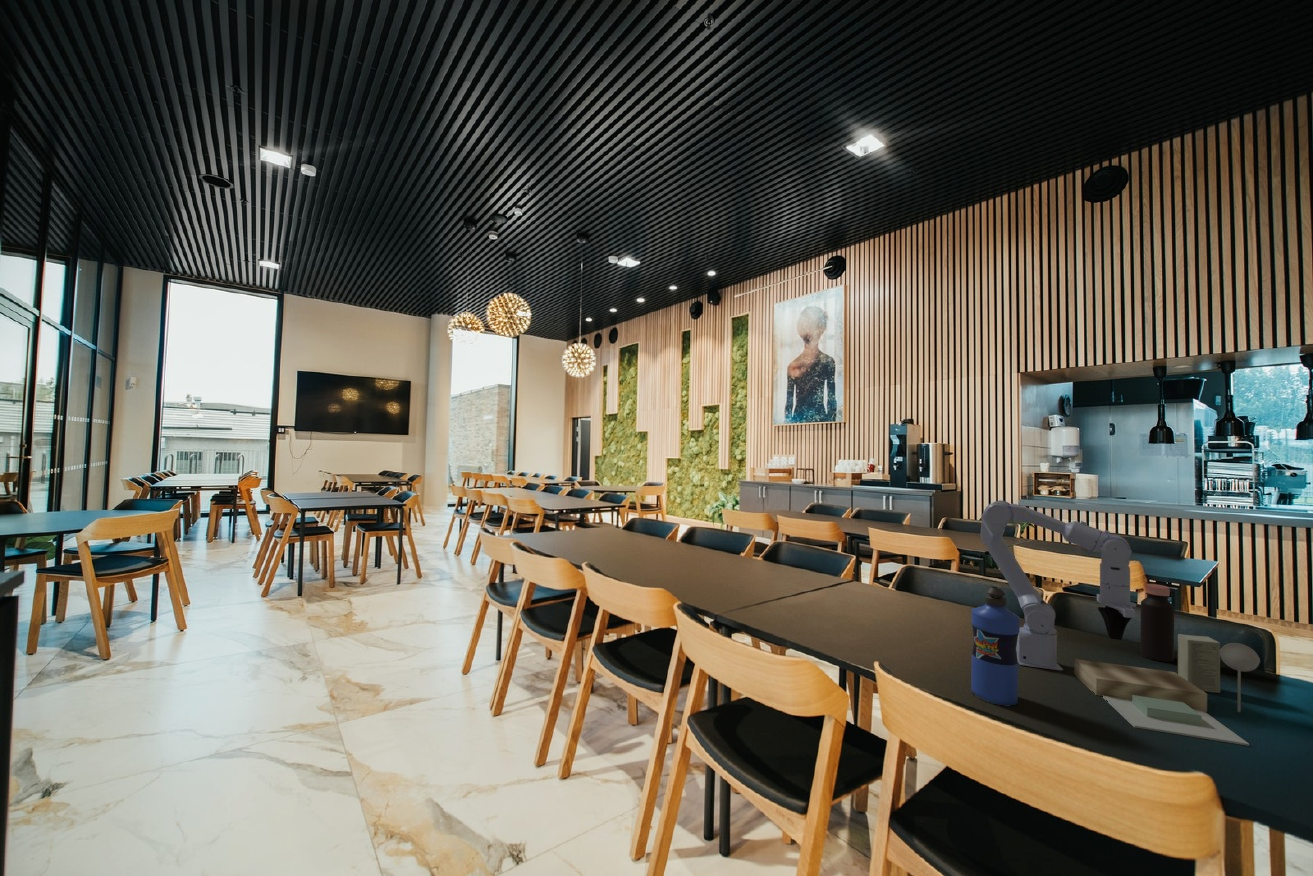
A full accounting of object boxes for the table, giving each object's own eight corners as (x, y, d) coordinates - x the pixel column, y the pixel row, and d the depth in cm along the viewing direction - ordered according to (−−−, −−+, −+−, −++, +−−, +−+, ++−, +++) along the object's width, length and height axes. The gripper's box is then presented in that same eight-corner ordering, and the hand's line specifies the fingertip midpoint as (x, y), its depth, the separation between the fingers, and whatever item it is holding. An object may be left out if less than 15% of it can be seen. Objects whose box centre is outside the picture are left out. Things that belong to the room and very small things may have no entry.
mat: (1134, 727, 108) (1134, 725, 108) (1102, 697, 121) (1102, 695, 121) (1249, 746, 102) (1249, 744, 102) (1202, 712, 115) (1202, 710, 115)
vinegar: (1147, 660, 144) (1147, 587, 144) (1135, 651, 150) (1136, 581, 151) (1179, 664, 142) (1179, 590, 142) (1166, 655, 148) (1166, 584, 148)
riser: (1096, 695, 122) (1096, 678, 122) (1074, 674, 133) (1074, 659, 133) (1207, 712, 115) (1207, 693, 115) (1174, 688, 127) (1174, 672, 127)
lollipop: (1210, 705, 119) (1211, 638, 119) (1234, 704, 119) (1234, 638, 119) (1243, 719, 112) (1244, 649, 113) (1268, 718, 113) (1268, 649, 113)
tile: (1132, 695, 117) (1132, 704, 117) (1147, 707, 112) (1147, 716, 112) (1183, 702, 114) (1183, 711, 114) (1201, 715, 109) (1201, 725, 109)
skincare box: (1208, 686, 129) (1209, 636, 129) (1221, 694, 124) (1221, 642, 125) (1176, 681, 131) (1176, 633, 131) (1187, 689, 126) (1188, 639, 127)
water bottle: (1003, 710, 114) (1005, 595, 114) (961, 691, 122) (963, 584, 123) (1027, 701, 118) (1028, 590, 119) (985, 684, 127) (986, 580, 127)
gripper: (1151, 592, 123) (1151, 651, 122) (1120, 578, 136) (1120, 631, 136) (1114, 589, 125) (1114, 647, 125) (1087, 576, 139) (1087, 627, 139)
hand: (1115, 638), depth 131 cm, fingers closed
